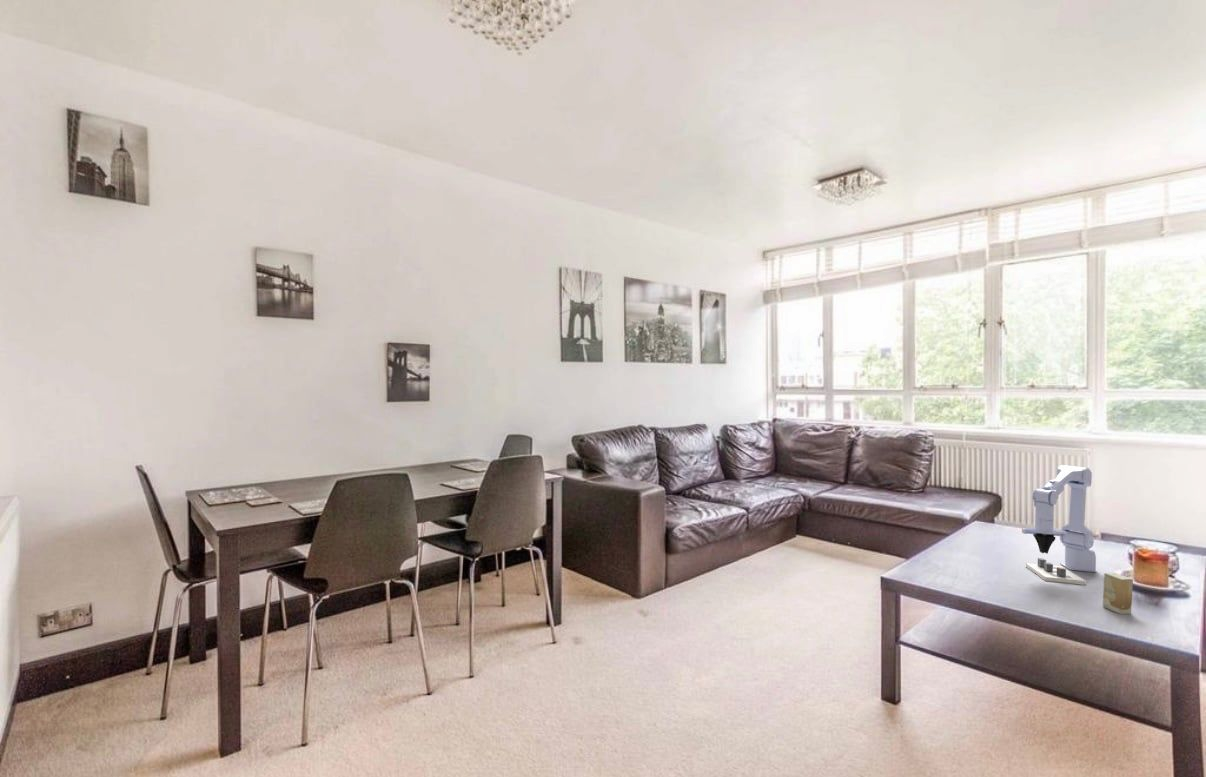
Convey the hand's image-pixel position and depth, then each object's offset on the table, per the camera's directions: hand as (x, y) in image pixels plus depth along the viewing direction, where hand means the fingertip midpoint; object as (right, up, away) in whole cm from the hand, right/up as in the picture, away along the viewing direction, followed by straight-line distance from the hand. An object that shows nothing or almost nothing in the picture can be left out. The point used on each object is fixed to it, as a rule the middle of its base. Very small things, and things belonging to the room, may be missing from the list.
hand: (1043, 552), depth 216 cm
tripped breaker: (+6, -9, -2) cm, 11 cm away
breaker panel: (+7, -10, +4) cm, 13 cm away
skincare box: (0, -11, -30) cm, 32 cm away
